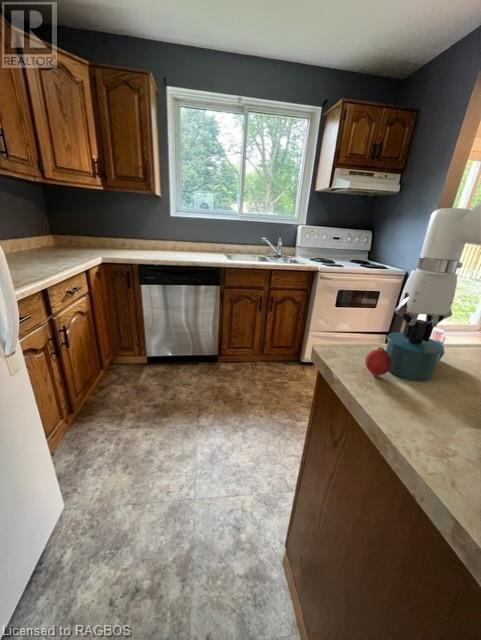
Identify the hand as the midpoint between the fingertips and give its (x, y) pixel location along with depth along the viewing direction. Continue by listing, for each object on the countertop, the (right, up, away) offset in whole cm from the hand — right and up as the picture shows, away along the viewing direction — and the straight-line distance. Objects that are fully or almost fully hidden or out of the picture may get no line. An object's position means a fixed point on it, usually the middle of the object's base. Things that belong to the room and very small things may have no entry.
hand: (415, 338), depth 69 cm
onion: (-11, -9, 0) cm, 14 cm away
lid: (0, -1, +1) cm, 2 cm away
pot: (0, -8, +3) cm, 9 cm away
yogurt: (+8, -8, +7) cm, 13 cm away
